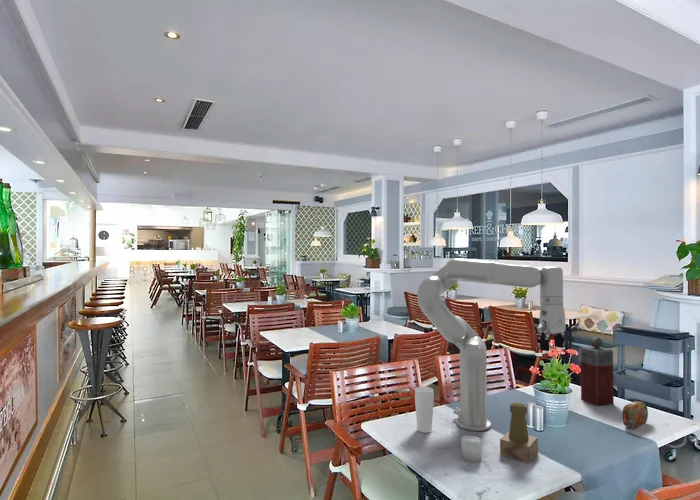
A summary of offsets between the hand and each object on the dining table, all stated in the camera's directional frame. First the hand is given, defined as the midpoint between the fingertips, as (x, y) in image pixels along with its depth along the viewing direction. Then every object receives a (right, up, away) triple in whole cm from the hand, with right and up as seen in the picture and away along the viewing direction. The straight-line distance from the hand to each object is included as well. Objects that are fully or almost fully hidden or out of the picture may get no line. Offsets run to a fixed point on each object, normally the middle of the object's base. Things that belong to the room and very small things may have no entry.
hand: (551, 348), depth 154 cm
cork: (-18, -25, -16) cm, 35 cm away
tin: (+35, -31, +8) cm, 47 cm away
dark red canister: (+36, -31, +35) cm, 59 cm away
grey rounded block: (-34, -30, -20) cm, 50 cm away
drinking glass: (-45, -31, +2) cm, 55 cm away
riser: (-18, -30, -16) cm, 39 cm away
